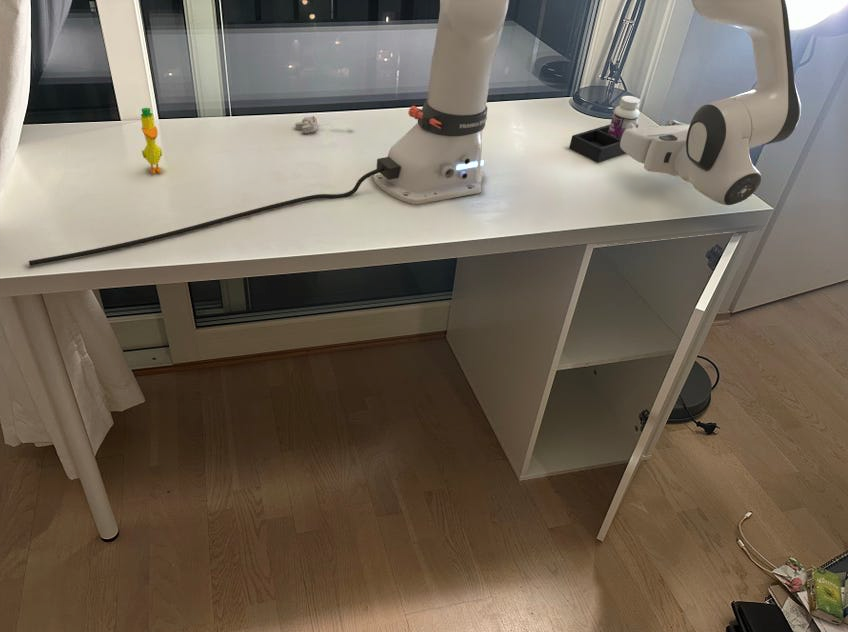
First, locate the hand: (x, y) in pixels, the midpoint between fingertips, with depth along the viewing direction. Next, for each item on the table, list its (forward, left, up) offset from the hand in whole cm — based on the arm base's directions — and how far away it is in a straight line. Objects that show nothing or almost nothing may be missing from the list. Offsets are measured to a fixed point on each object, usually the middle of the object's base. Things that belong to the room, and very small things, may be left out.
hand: (649, 124), depth 146 cm
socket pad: (-1, +8, -8) cm, 11 cm away
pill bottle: (+3, +8, -8) cm, 11 cm away
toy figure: (-90, +45, -8) cm, 101 cm away
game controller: (-51, +46, -8) cm, 69 cm away
